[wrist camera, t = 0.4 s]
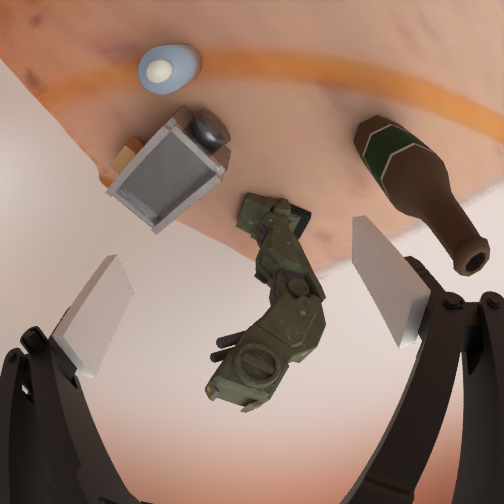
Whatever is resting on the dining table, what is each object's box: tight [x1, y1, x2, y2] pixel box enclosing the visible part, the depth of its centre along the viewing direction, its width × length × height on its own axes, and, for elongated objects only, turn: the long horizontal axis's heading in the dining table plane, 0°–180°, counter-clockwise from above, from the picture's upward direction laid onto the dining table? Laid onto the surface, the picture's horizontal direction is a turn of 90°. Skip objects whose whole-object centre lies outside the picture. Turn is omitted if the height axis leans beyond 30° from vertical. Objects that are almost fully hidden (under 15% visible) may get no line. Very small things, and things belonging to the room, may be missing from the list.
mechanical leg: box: [205, 193, 326, 413], centre depth 32 cm, size 14×7×30 cm, turn 72°
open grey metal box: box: [105, 105, 231, 234], centre depth 32 cm, size 15×11×8 cm
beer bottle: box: [354, 116, 490, 276], centre depth 24 cm, size 8×8×24 cm
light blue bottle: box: [138, 44, 202, 94], centre depth 24 cm, size 6×6×8 cm
